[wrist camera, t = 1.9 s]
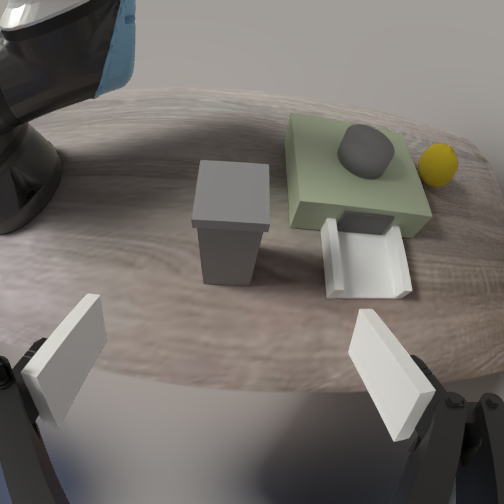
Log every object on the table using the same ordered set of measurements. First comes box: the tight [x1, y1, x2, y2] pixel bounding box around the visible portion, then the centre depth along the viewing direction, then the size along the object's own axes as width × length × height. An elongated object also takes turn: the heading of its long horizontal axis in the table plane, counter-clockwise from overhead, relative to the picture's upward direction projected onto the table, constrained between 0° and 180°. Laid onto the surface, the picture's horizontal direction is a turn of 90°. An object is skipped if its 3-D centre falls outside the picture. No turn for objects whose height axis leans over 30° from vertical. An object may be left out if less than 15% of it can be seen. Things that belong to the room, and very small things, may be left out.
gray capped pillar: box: [191, 160, 270, 286], centre depth 26 cm, size 5×5×12 cm
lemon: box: [418, 143, 458, 187], centre depth 37 cm, size 6×6×8 cm
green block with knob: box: [284, 113, 433, 299], centre depth 33 cm, size 22×16×8 cm
